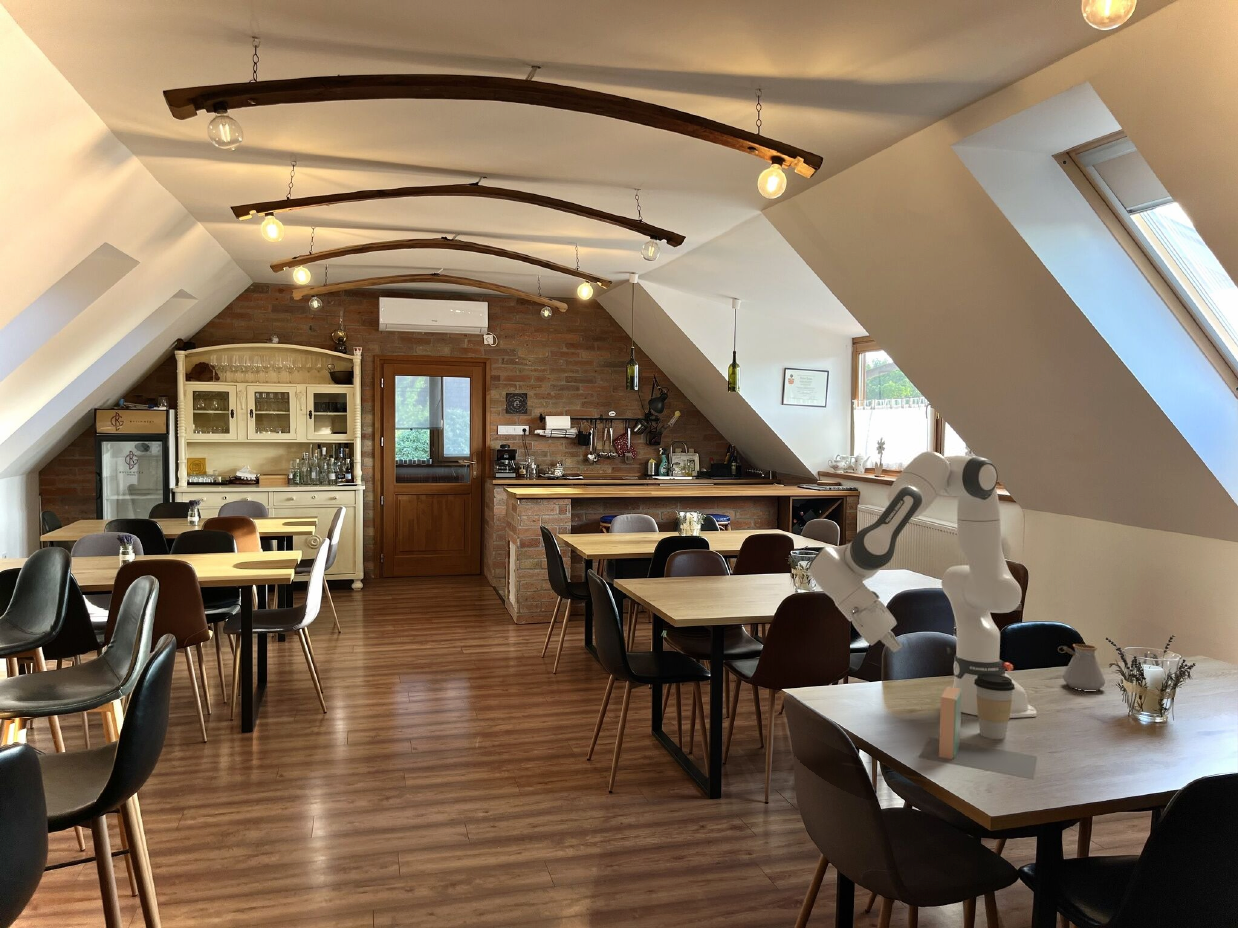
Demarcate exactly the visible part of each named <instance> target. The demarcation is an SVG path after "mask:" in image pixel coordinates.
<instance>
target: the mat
mask: <svg viewBox="0 0 1238 928" xmlns="http://www.w3.org/2000/svg"><path fill="white" fill-rule="evenodd" d="M939 740H940V738H936V737H933V736H929V738H928V740H927V742H926V743H925V745H924V747H923V748H922V751H921V752H920V754H919V755H918V758H920V759H925V760H929V761H934V762H941V763H946V764H950V765H957V766H962V767H968V768H972V769H977V770H983V771H987V772H991V773H992V772H993V773H999V774H1003V775H1007V776H1008V775H1009V776H1013V777H1018V778H1019V777H1020V778H1025V779H1029V780H1030V779H1031V780H1034V779H1035V772H1036V766H1037V760H1038V756H1037V755H1032V754H1027V753H1023V752H1022V753H1020V752H1016V751H1010V750H1004V749H998V748H993V747H987V746H983V745H982V746H981V745H976V744H971V743H965V742H960V746H959V748H958V751H957V753H956V755H955V758H953V759H949V758H943V757H939Z"/></svg>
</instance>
